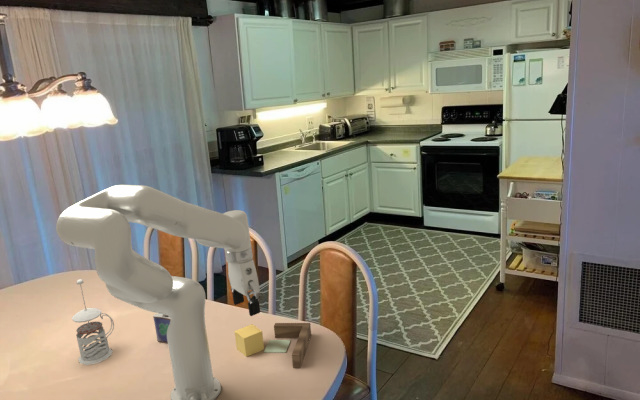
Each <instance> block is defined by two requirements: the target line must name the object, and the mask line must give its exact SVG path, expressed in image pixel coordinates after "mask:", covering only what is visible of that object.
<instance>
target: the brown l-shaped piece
mask: <svg viewBox="0 0 640 400" xmlns="http://www.w3.org/2000/svg"><path fill="white" fill-rule="evenodd" d="M311 328H312V327H311V322H275V323H274V324H273V331H274V339H269V340H268V341H267V344H266V346H265V347H264V351H263V353H274V354H275V353H277V354H279V353H280V354H281V353H282V354H283V353H284V354H285V353H287V351H288V349H289V346H290V343H291V339H296V342H295V345H294V348H293V351H292V353H291V361H292V362H291V363H292V368H293V369H301V367H302V364H303V360H304V358H305V356H306V352H307V348H308V345H309V342H310V340H309V339H311V337H312V329H311ZM310 336H311V337H310Z"/></svg>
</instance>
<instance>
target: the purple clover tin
mask: <svg viewBox="0 0 640 400" xmlns="http://www.w3.org/2000/svg"><path fill="white" fill-rule="evenodd" d="M152 317H153V323H154V326H155V327H154V328H155V334H156V340H157V342H158V343H163V344H167V345H168V341H167V330H168V327H169V324H170V321H171V319H170V317H169V316H167V315H164V314H159V313H155V314H153V316H152Z"/></svg>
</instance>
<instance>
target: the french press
mask: <svg viewBox="0 0 640 400" xmlns="http://www.w3.org/2000/svg"><path fill="white" fill-rule="evenodd" d="M82 284H84V280H83V279H82V278H80V279H77V280H76V285H80V290H81V294H82V295H81V296H82V301H83V305H84V308H83V309H81V310H79V311H78V312H76V313H75V314H74V315H73V316H72V317H71V320H72V321H73V322H74V323H84V324H81V325H80V326H78V327H77V328H76V331H75V332H76V339H77V340H76V341H77V345H78V348H79V354H80V356H79V358H78V359H77V361H78V360H79V362H80V363H81V364H85V365H84V366H91V364H92V365H96V364H99V363H101V361H102V362H103V360H104V361H106V360H107V359H109V358H110V357H111V356H112V354H113V353H112V352H113V349H112V348H110V346H109V342H108V337H109V336H110V335H111V334H112V333H113V331H114V329H115V323H114V319H113V318H112V316H110V315H109V314H107V313H103V312H102V310H101V309H99V308H95V307H87V308H86V302H85V297H84V292H83V288H82V287H83V286H82ZM98 317H100V319H101V320H103V319H104V317H108V318H109V319H110V323H111V324H110V328H109V331H107V332H106V331H105V329H104V327H103V322H101V321H92V320H95V319H97V318H98ZM111 330H112V331H111ZM87 336H88V337H87ZM111 349H112V350H111ZM111 353H112V354H111ZM110 355H111V356H110ZM109 356H110V357H109ZM105 359H106V360H105ZM80 363H79V364H80ZM95 363H96V364H95ZM81 364H80V365H81ZM89 364H90V365H89Z"/></svg>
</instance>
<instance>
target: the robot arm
mask: <svg viewBox="0 0 640 400" xmlns="http://www.w3.org/2000/svg"><path fill="white" fill-rule="evenodd" d="M130 223H133V224H138V225H142V226H144V227H148V228H151V229H155V230H158V231H159V232H163V233H166V234H168V235H170V236H173V237H174V236H175V237H178V238H179V237H180V238H185V239H193V240H195V241H196V242H197V243H198V244H199V245H201V246H203V247H207V248H208V247H209V248H219V249H224V254H225V255H224V256H225V261H226V263H227V270H228V275H227V276H228V280H229V285H230V286H231V288H230V290H231V292H232V293H231V295H232V301H233V305H234V306H237V305H240V304H242V303H244V302H245V298H244V296H246V298H247V301H248V303H247V308H248V313H249V316H250V317H253V316H256V315H257V314H259V313H261V308H260V297H261V296H260V294H261V290H260V282H259V278H258V277H259V276H258V273H257V269H256V265H255V261H254V259H253V257H254V256H253V255H254V254H253V250H252V241H251V233H250V227H249V219H248V215H247V213H246V212H245V211H244V210H240V209H238V210H235V209H234V210H229V211H226V212H223V213H221V212H219V211H215V210H211V209H210V208H209V209H208V208H206V207H202V206H200V205H197V204H194V203H189V202H187V201H184V200H181V199H179V198H177V197H174V196H172V195H170V194H169V193H166V192H164V191H161V190H159V189H156V188H154V187H153V186H148V185H141V184H139V185H138V184H116V185H112V186H110V187H108V188H105V189H103V190H101V191H99V192H97V193H95V194H92V195H91V196H88V197H87V198H85V199H83V200H80V201H79V202H76V203H75V204H73V205H71V206H69V207H67V208H66V209H64V210H63V212H62V213H61V214H60V215H59V217H58V219H57V222H56V224H55V225H56V226H55V227H56V233H57V236H58V237H59V239H60V240H61V241H62V242H64V243H65V244H67V245H69V246H73V247H77V248H84V249H90V250H94V263H95V269H96V273H97V276H98V278H99V279H100V280H101V281H102V282H104V283H105V287H106V289H107V292H108V293H109V294H110V295H111V296H113V297H114V298H116V299H117V300H120V301H121V302H124V303H126V304H129V305H132V306H134V307H137V308H139V309H141V310H145V311H147V312H152V313H155V314H164V315H167V316H169V317H170V319H171V321H170V324H169V327H168V330H167V341H168V344H167V347H168V351H169V352H168V353H169V358H170V362H171V363H170V364H171V368H172V369H171V370H172V374H173V381H174V387H173V389H171V390H172V391H171V392H170V400H216V399H217V397H218V396H219V395H220V393H221V391H222V387H221V386H222V385H221V382H220V380H218V379H217V378H216V377H214V374H213V367H212V360H211V353H210V347H209V339H208V333H207V327H206V326H207V325H206V317H205V315H206V313H205V312H206V311H205V310H206V292H205V289H204V287H203V285H202V284H200V283H199V282H198V281H197V280H194V279H191V278H188V277H182V276H175V275H171V273H170V271H169V270H167V268H165V267H164V266H163V265H161V264H158V263H157V262H155V261H152V260H150V259H148V258H147V257H145V256H142V255H141V254H140V253H138V252H136V251H135V250H134V249H133V246H132V245H133V244H132V229H131V228H132V227H131V225H130ZM251 295H252V296H251Z"/></svg>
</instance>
